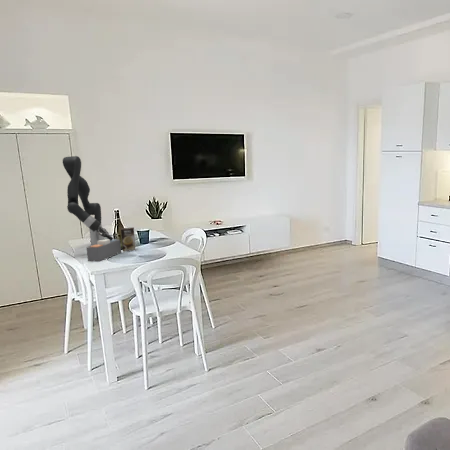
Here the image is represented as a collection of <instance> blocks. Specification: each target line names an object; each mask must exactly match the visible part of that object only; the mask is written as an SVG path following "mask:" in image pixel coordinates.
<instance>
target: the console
mask: <svg viewBox="0 0 450 450" xmlns="http://www.w3.org/2000/svg"><path fill="white" fill-rule="evenodd" d="M116 240H117V241H114V242H110V243H109V244H106V245H103V246H101V247H98V248H94V247H90V246H88V247H87V246H86V256H87V261H88V262H103V261H104V260H106V259H108V258H111V257H113V256H116V255H118V254H120V253H122V243H121V239H116ZM95 245H98V244H95ZM92 246H93V245H92Z"/></svg>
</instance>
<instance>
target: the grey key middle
mask: <svg viewBox="0 0 450 450" xmlns="http://www.w3.org/2000/svg"><path fill="white" fill-rule="evenodd" d="M109 243H110V239H108V238H104V239H102V240H99V241H97V244H98V245H106V244H109Z"/></svg>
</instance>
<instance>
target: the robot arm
mask: <svg viewBox="0 0 450 450" xmlns="http://www.w3.org/2000/svg"><path fill="white" fill-rule="evenodd" d="M62 166H63V167H64V169H65V171H66V173H67V175H68V176H69V178H70V181H69V182H68V185H67V192H66V194H67V206H66V208H67V211H68V212H69V213H70V214H71V215H74V216H76V218H77V220H79V221H80V222H82V223H83V225H85V226H86V227H87V228H88V231H89V237H90V238H89V239H90V246H92V245H95V244H97V241H99V240H102V239H105V238H106V239H110V241H111V240H112V239H114V238H113V237H112V236H111V235H110V234H109V232H108V230H107V229H106V228H104V227H103V225H102V208H101V204H100V203H98V202H90V201H89V199H88V198H89V195H90V192H91V189H90V186H89V184H88V181H87V180H86V179H85V178H84V177H83V176H81V171H82V160H81V158H80V157H79V156H77V155H75V156H74V155H73V156H64V157H63V158H62ZM79 199H80V201H81V203H82V206H83V207H81V206H80V205H79ZM93 216H94V217H93Z"/></svg>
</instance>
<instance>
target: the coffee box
mask: <svg viewBox="0 0 450 450" xmlns="http://www.w3.org/2000/svg"><path fill="white" fill-rule="evenodd" d="M120 234H121V249H122V252H131V251H132V252H133V251H136V249H137V247H136V239H135V236H136V235H135V227H121V228H120Z"/></svg>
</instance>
